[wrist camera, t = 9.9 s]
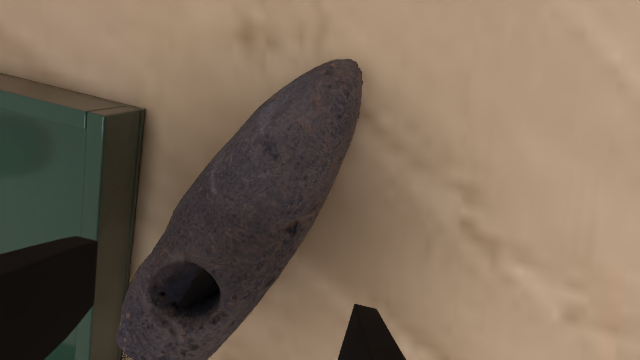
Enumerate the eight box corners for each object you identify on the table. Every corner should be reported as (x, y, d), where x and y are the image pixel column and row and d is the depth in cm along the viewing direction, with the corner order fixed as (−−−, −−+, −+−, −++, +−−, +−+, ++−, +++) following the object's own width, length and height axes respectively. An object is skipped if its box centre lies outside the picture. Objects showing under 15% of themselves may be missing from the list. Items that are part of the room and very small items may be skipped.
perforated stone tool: (311, 30, 17) (289, 0, 10) (401, 100, 17) (436, 117, 10) (155, 260, 20) (63, 350, 14) (232, 311, 21) (180, 421, 14)
